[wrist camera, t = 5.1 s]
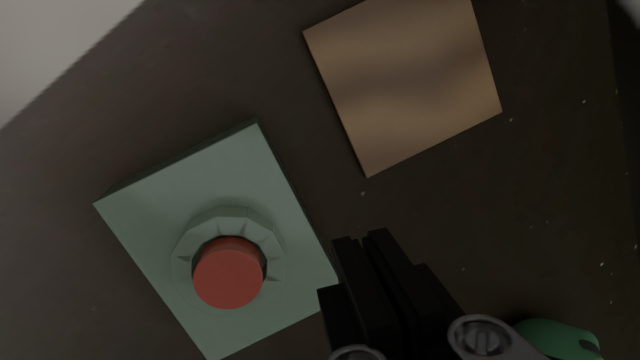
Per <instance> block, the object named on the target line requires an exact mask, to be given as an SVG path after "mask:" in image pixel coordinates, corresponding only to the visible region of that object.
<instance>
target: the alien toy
mask: <svg viewBox="0 0 640 360" xmlns="http://www.w3.org/2000/svg"><path fill="white" fill-rule="evenodd" d="M512 328H514V329H515V330H516V331H517V332H518V333H520V334H521V335H522V336H523V337H524V338H525V339H527V340H528V341H529V342H530V343H531V344H533V345H534V346H535V347H536V348H537V349H538V350H540V351H541V352H542V353H543V354H545V355H549V356H552V357H555V358H559V359H562V360H604V359H603V358H602V357H601V356H600V348H599V343H598V341H597V339H596V337H595V336H594V335H593V334H592V333H591V332H589V331H588V330H584V329H581V328H577V327H573V326H570V325H566V324H562V323H559V322H556V321H553V320H550V319H546V318H530V319H526V320H523V321H521V322H518V323H517V324H516V325H514V326H513V327H512Z"/></svg>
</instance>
